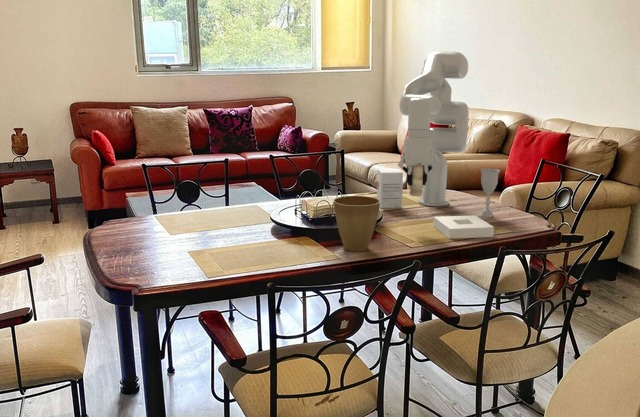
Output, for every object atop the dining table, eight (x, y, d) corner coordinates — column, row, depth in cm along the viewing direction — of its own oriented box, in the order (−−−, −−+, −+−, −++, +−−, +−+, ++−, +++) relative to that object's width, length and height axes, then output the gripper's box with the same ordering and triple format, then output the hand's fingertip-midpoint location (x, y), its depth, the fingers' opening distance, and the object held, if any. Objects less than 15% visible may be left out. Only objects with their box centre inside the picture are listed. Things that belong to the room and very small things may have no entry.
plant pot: (388, 248, 204) (389, 200, 200) (358, 258, 193) (360, 208, 189) (352, 238, 213) (353, 192, 209) (323, 248, 203) (323, 200, 199)
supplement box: (375, 203, 263) (377, 168, 259) (396, 203, 264) (398, 168, 260) (380, 208, 254) (381, 172, 250) (401, 208, 255) (403, 172, 251)
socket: (433, 226, 230) (433, 216, 229) (474, 224, 232) (475, 215, 231) (449, 238, 214) (449, 228, 213) (493, 236, 217) (493, 227, 216)
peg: (408, 193, 226) (409, 160, 223) (419, 193, 226) (421, 160, 223) (411, 196, 222) (413, 163, 218) (423, 196, 222) (425, 162, 219)
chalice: (494, 213, 248) (498, 168, 244) (497, 217, 242) (501, 172, 237) (475, 212, 249) (479, 168, 244) (478, 217, 242) (481, 171, 238)
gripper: (438, 131, 223) (435, 181, 228) (392, 132, 220) (390, 183, 225) (445, 134, 216) (442, 186, 221) (398, 135, 213) (396, 188, 218)
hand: (416, 184), depth 223 cm, fingers closed on peg, 4 cm apart
